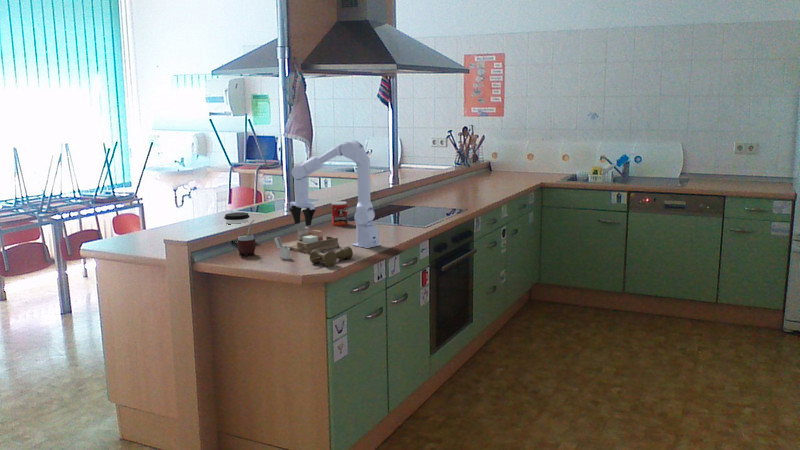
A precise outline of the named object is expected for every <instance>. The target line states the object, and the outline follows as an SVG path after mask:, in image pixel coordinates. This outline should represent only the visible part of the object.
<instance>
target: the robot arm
mask: <svg viewBox="0 0 800 450" xmlns="http://www.w3.org/2000/svg"><path fill="white" fill-rule="evenodd" d="M338 156H339V157H342V156H343V157H344V158H347V159H349V160H351V161H353V163H354V164H355V165H357V168H356V169H357V204H356V208H355V213H354V216H353V218H354V222H355V223H356V224H355V225H356V227H355V228H356V243H352V246H356V247H360V248H364V249H365V248H366V249H370V248H374V247H380V246H382V244H381V243H380V230H379V228H378V226H375V225H374V221H373V220H374V219H375V216H376V213H375V210H374V208H373V207H374V206H373V203H372V202H371V160H370V157H369V155H368V154H367V152H366V149H365V147H364V145H363V144H362V143H360V142H359V141H358V140H351V141H345V142H344V143H342V144H338V145H336V146H334V147H333V148H331V149H329V150H328V151H326V152H325V153H323V154H322V155H320V156H317V155H314V156H313V155H311V156H310V157H309V159H307V160H305V161H301V162H300V165H299V164H298V165H297V164H296V165H295V166H293V168H292V169H291V176H292V177H293V179H294V180H293V181H294V182H293V185H294V186H293V187H294V201H290V202H289V206H290V207H289V208H288V210H289V212H290V213H291V215H292V218H293V220H294V224H295V225H296V224H300V223H301V214H302V213H303V215H304V221H305V227H309V226H311V224H312V222H313V221H312V220H313V217H314V215H315V213H316V207H315V204H312V203H311V202H310V201H309V183H308V182H309V180H308V179H309V178H308V177H309V175H312V174H313V173H315V172H317V171H318V170H321V169H322V168H323V166H324V165H323V164H325V163H326V162H328V161H331V160H332V159H334V158H336V157H338ZM301 212H302V213H301Z"/></svg>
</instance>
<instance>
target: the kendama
mask: <svg viewBox="0 0 800 450" xmlns="http://www.w3.org/2000/svg"><path fill="white" fill-rule="evenodd" d="M353 255H354V252H353V249H352V248H351V246H344V247H343V248H338V249H337V250H336V251H333V250H330V251H327V252H325V253H323V252H322V250H318V249H315V250H313V251H312V252H311V253H309V261H310V263H311V264H313V263H315V264H318V263H323V264H324V265H325V266H326V267H327V266H331V267H334V266H335V265H336V263H337V259H338V260H344V259H348V260H351V259H353ZM333 265H334V266H333Z"/></svg>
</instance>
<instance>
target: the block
mask: <svg viewBox="0 0 800 450" xmlns="http://www.w3.org/2000/svg"><path fill="white" fill-rule="evenodd" d="M302 241H303V243H306V244H309V243H314V242H318V237H317V236H312V235H310V236H304V237H302Z"/></svg>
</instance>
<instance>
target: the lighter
mask: <svg viewBox="0 0 800 450" xmlns="http://www.w3.org/2000/svg"><path fill="white" fill-rule="evenodd" d="M273 240H274V243H275V245H276V247H277V249H279V256H280V259H282V260H290V259H291V250H290V248H287V245H282V241H281V238H280V237H279V236H278V237H275V238H274V239H273Z"/></svg>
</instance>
